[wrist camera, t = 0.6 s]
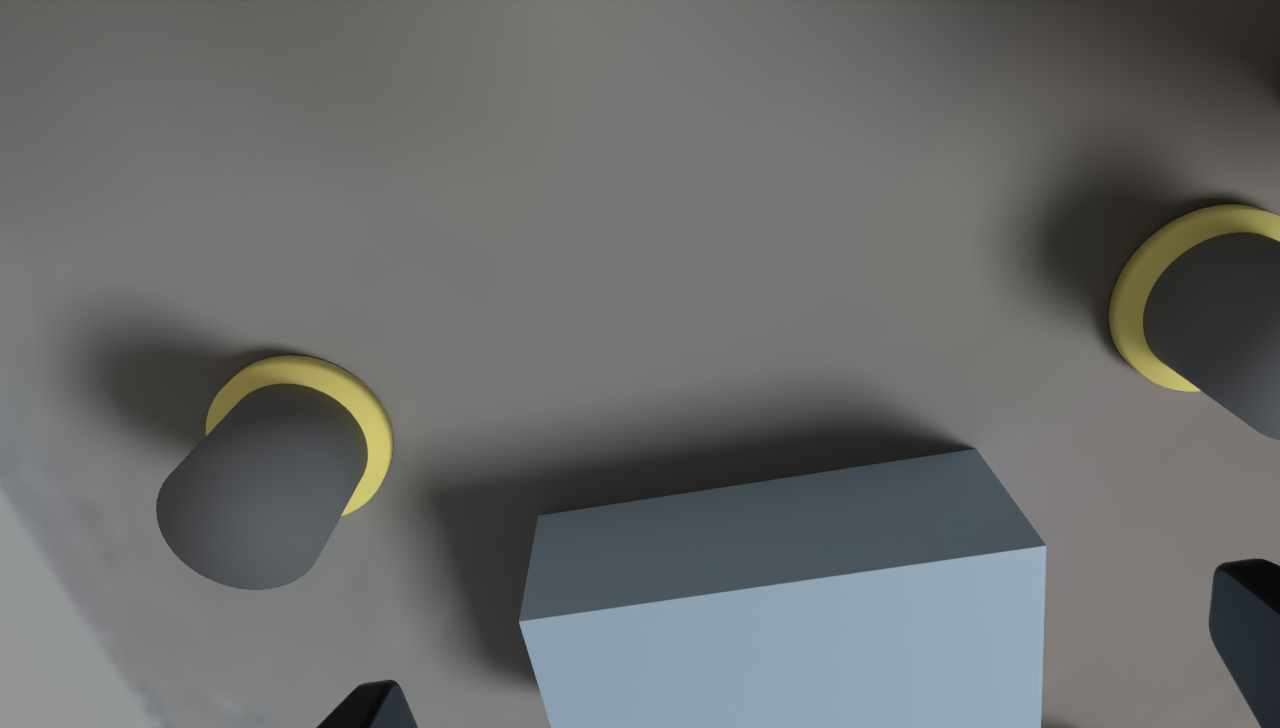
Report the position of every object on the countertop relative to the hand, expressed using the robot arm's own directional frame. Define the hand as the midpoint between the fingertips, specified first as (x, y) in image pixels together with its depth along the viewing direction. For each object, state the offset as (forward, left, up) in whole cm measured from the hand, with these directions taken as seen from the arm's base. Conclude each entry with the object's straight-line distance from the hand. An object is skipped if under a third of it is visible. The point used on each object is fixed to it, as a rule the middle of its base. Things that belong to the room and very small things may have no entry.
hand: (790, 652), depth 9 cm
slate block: (-1, +9, -13) cm, 16 cm away
